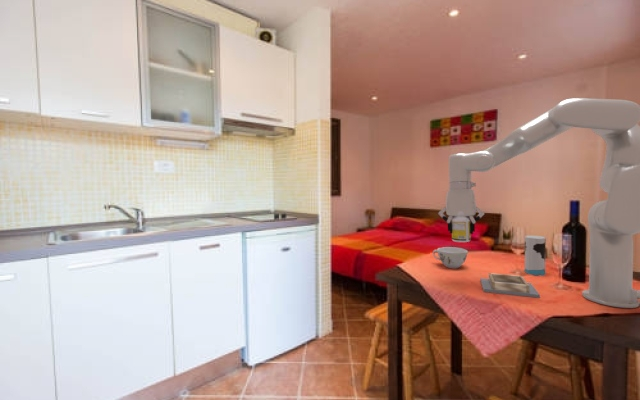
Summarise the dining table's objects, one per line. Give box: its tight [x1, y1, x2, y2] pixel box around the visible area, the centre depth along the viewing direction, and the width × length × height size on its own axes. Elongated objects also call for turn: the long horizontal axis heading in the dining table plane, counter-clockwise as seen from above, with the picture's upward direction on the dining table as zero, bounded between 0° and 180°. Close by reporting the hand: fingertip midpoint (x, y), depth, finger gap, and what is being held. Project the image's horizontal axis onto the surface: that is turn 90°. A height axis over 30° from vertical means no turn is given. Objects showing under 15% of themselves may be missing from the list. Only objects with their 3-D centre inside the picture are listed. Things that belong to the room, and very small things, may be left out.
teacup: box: [432, 246, 468, 269], centre depth 130 cm, size 15×12×8 cm
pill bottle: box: [451, 211, 472, 243], centre depth 109 cm, size 6×6×12 cm
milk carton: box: [524, 235, 547, 276], centre depth 117 cm, size 7×7×15 cm
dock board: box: [479, 277, 541, 299], centre depth 102 cm, size 16×12×1 cm
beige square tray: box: [488, 272, 529, 293], centre depth 102 cm, size 11×11×2 cm
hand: (461, 232), depth 109 cm, fingers closed on pill bottle, 6 cm apart
